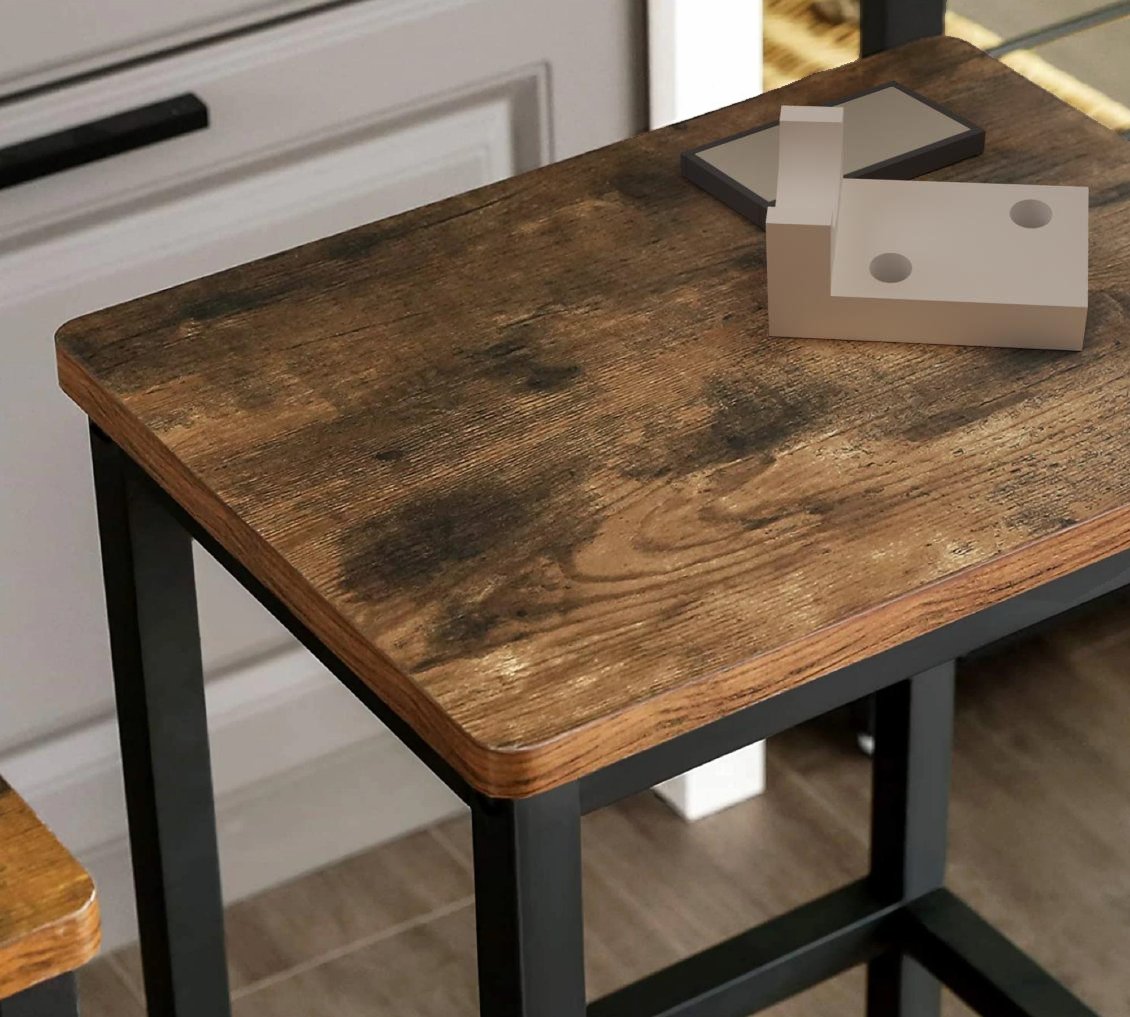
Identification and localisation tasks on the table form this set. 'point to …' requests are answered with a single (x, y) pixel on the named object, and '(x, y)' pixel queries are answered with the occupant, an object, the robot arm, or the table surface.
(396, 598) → the table surface
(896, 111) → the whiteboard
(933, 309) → the bracket
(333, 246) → the table surface
